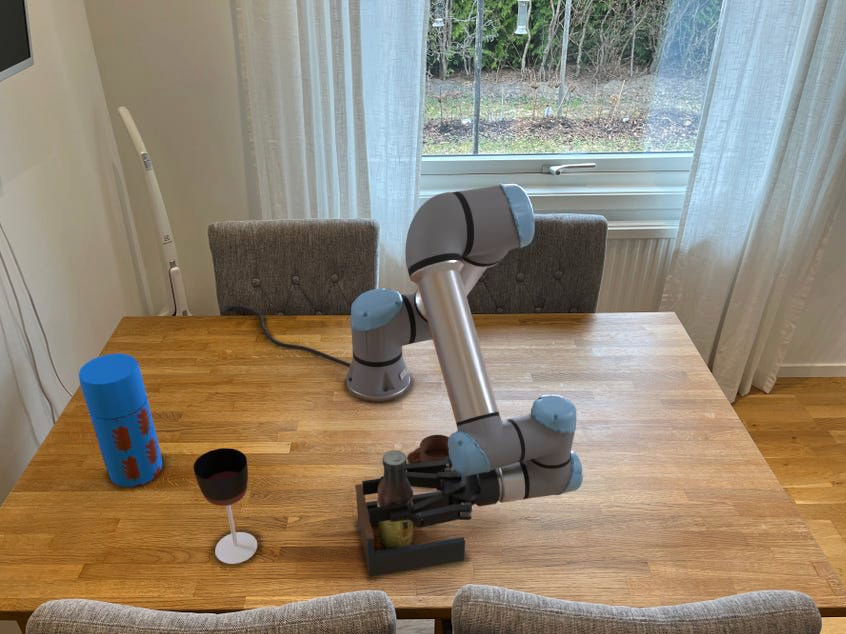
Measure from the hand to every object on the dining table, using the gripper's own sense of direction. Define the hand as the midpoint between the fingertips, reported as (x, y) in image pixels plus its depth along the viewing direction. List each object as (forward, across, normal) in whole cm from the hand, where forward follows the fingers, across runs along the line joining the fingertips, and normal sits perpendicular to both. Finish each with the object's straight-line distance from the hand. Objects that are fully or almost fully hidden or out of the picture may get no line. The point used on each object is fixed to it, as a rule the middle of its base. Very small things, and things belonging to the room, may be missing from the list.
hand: (366, 501), depth 123 cm
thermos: (+43, +31, -12) cm, 55 cm away
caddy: (-8, 0, -11) cm, 14 cm away
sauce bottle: (-5, 0, -11) cm, 12 cm away
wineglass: (+23, +5, -12) cm, 27 cm away
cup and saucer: (-17, +18, -12) cm, 28 cm away
